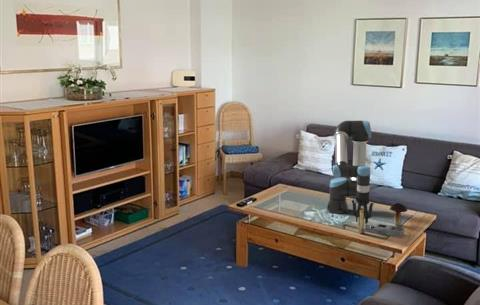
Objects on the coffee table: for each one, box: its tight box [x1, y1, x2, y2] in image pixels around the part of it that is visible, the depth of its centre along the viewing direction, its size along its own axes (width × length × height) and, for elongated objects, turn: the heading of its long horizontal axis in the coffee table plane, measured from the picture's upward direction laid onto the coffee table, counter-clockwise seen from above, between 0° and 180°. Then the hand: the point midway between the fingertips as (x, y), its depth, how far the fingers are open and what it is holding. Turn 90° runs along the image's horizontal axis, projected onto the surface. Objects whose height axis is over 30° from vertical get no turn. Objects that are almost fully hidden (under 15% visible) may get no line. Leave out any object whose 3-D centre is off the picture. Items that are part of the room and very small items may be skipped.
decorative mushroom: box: [389, 202, 408, 227], centre depth 319 cm, size 11×11×15 cm
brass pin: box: [358, 207, 365, 234], centre depth 306 cm, size 4×4×15 cm
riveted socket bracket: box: [364, 223, 405, 238], centre depth 309 cm, size 25×7×5 cm, turn 57°
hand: (361, 227), depth 307 cm, fingers closed on brass pin, 3 cm apart
